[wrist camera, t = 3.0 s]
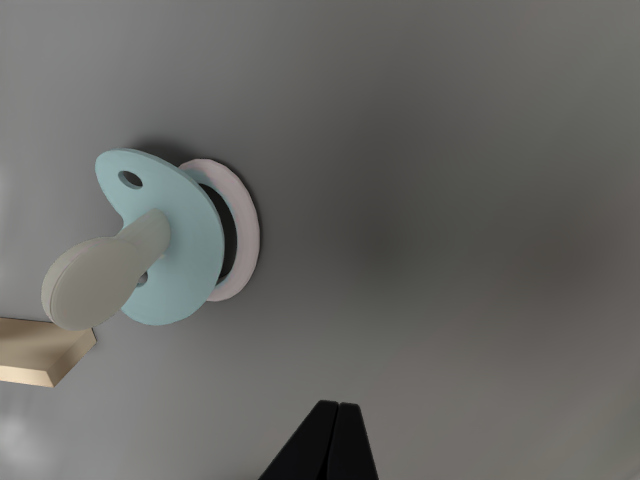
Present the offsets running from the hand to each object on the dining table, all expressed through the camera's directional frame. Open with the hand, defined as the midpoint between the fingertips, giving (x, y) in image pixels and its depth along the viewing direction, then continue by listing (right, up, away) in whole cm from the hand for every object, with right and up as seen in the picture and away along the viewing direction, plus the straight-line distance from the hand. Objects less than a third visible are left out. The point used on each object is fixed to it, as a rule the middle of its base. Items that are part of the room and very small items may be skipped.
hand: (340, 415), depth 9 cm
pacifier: (-6, +4, +9) cm, 11 cm away
